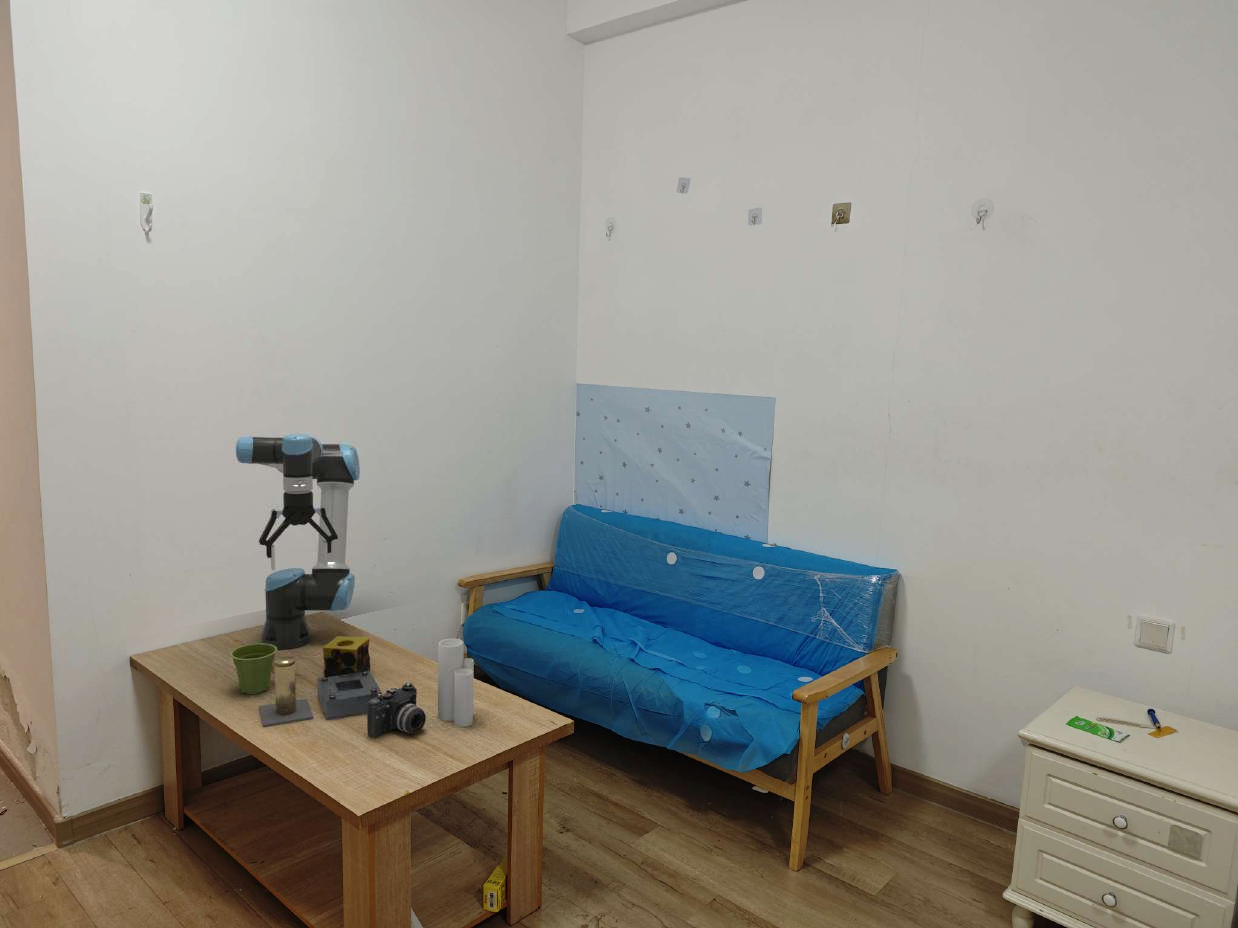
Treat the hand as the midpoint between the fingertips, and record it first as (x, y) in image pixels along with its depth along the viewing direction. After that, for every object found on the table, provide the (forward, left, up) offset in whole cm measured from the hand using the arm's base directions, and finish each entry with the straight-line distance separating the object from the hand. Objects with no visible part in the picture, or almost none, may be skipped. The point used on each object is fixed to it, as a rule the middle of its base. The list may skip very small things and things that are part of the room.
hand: (299, 566), depth 227 cm
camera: (+38, +19, -35) cm, 55 cm away
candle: (-3, +13, -35) cm, 37 cm away
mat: (+17, -6, -35) cm, 39 cm away
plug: (+17, -6, -34) cm, 38 cm away
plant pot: (-2, -12, -35) cm, 37 cm away
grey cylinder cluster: (+37, +34, -35) cm, 61 cm away
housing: (+17, +10, -35) cm, 40 cm away
